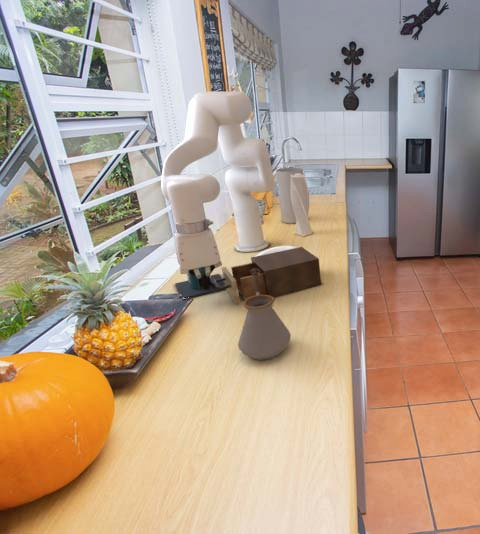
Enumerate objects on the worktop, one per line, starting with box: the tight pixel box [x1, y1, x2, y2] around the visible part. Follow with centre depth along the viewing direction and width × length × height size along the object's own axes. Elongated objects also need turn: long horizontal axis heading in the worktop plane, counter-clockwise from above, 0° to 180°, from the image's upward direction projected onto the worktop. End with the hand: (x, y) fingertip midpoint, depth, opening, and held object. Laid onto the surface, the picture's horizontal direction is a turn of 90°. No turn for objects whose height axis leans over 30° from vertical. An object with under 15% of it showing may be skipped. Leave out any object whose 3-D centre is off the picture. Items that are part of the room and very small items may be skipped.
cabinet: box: [250, 246, 322, 298], centre depth 122 cm, size 17×14×9 cm
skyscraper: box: [291, 169, 314, 237], centre depth 167 cm, size 8×8×28 cm
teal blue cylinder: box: [186, 267, 211, 290], centre depth 119 cm, size 8×6×11 cm
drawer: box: [210, 262, 267, 304], centre depth 116 cm, size 20×13×7 cm, turn 125°
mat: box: [175, 273, 226, 299], centre depth 122 cm, size 13×13×1 cm
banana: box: [254, 245, 299, 257], centre depth 140 cm, size 5×19×15 cm
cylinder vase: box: [275, 167, 304, 225], centre depth 188 cm, size 12×12×25 cm
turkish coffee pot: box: [237, 268, 292, 361], centre depth 91 cm, size 21×12×15 cm, turn 21°
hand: (205, 288), depth 110 cm, fingers closed
